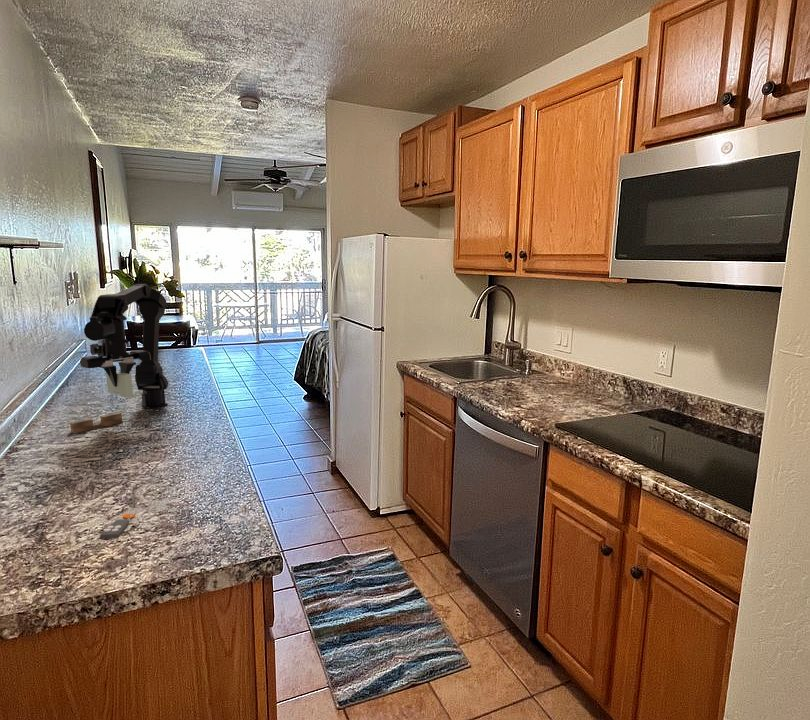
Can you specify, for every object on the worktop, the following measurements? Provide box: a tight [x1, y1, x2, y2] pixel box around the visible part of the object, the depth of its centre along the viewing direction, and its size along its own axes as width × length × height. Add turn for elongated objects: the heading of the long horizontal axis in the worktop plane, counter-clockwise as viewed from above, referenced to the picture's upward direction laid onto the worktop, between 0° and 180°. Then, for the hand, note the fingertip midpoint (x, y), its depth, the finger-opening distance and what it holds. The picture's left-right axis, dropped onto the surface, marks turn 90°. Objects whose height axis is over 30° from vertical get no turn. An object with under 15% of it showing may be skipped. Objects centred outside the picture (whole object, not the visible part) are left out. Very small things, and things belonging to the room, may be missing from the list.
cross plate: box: [105, 370, 134, 399], centre depth 162 cm, size 12×2×7 cm, turn 54°
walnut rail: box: [69, 411, 123, 434], centre depth 160 cm, size 14×2×3 cm, turn 142°
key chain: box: [99, 510, 140, 539], centre depth 103 cm, size 13×4×2 cm, turn 4°
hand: (119, 385), depth 162 cm, fingers closed on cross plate, 2 cm apart
